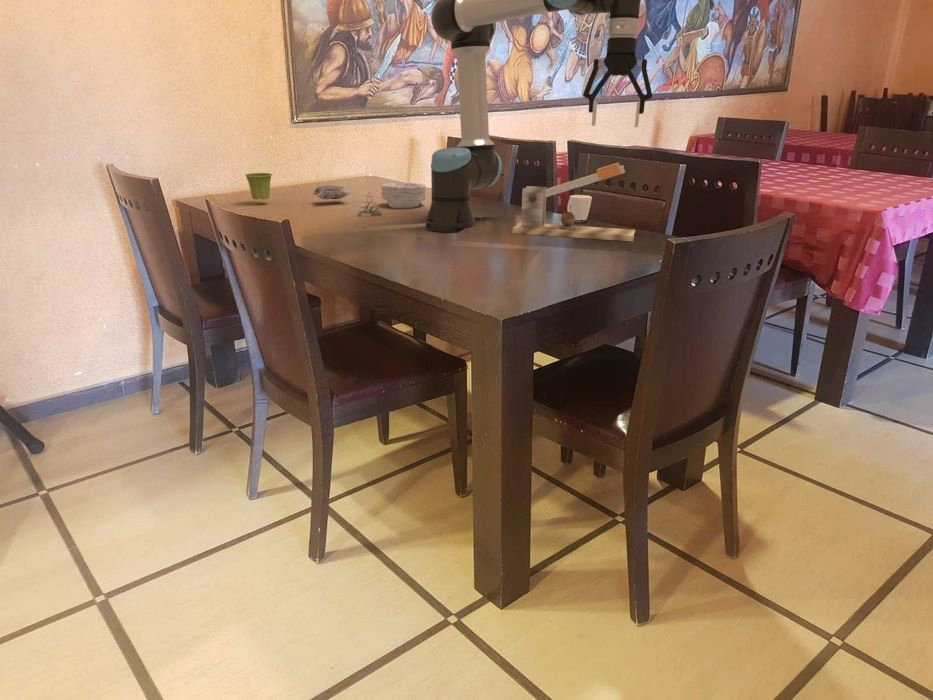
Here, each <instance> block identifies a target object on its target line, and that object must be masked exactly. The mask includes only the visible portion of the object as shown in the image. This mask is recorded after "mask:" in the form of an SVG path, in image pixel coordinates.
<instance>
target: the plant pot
mask: <svg viewBox="0 0 933 700" xmlns="http://www.w3.org/2000/svg"><path fill="white" fill-rule="evenodd" d="M244 176H245V177H246V180H247V181H248V182H247V183H248V186H249V190H250V194H251V198H252V200H268V199H269V198H270V195H271V191H270V189H271V179H272V176H273V174H272V173H269V172H251V173H246V174H244Z"/></svg>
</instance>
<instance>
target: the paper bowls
mask: <svg viewBox="0 0 933 700" xmlns="http://www.w3.org/2000/svg"><path fill="white" fill-rule="evenodd" d="M426 189H427V188H426V184H422V183H413V182H391V183H390V182H389V183H383V184H382V185H381V199H382V200H386V203H387V205H388V207H390V208H391V209H392V208H393V209H412V208H418V207H420V204H421V202H423V201H425V200H426V196H427V195H426V191H427V190H426Z"/></svg>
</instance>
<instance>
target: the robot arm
mask: <svg viewBox="0 0 933 700" xmlns="http://www.w3.org/2000/svg"><path fill="white" fill-rule="evenodd" d="M566 10H568V12H569V13H570V14H571V15H580V16H584V15H592V14H594V15H595V14H603V13H604V14H609V19H608V31H607V32H608V33H607V35H608V36H609V38H608V39H607V43H606V56H605V58H604V59H598V58H595V59H594V60H593V66H592V71H591V73H590V76H589V78H588V80H587V83H586V86H585V88H584V91H583V92H582V93H583V94H582V97H583V98H586V99H588V113H592V115H591V117H592V118H591V127H594V126H596V121H597V110H598V100H595V99H596V97H597V96H598V95H599V93H600V92H601V90H602V89H603V87H604V86H605V84H606V83H607V82H608V80H609V79H610V77H611V76H614V77H615V76H616V77H617V76H622V77H626V76H628V78H629V80H630V82H631V84H632V86H633V88H634V90H635V92H636V94H637V95H638V98H639V100H637V101H636V110H635V111H636V112H635V119H634V121H635V122H634V128H638V127H639V120H640V114H641V115H643V114H644V112H645V104H646V101H647V100H650V99H652V98H653V93H652V88H651V83H650V79H649V75H648V70H647V69H648V67H647V66H648V60H647V59H645V58H643V59H637V57H636V56H637V55H636V53H637V42H638V39H637V38H636V37H637V36H638V34H639V24H640V23H639V22H640V10H641V0H438V1H437V2H435V4H434V6H433V8H432V10H431V16H430V17H431V18H430V20H431V25H432V29H433V30H434V32H435V33H436V34H437V36H439V37H440V38H442V39H443V40H445V41H447V42H450V45H451V46H450V48H451V49H450V50H451V53H453V54H454V55H455V57H456V66H457V80H458V82H457V84H458V85H457V86H458V99H459V100H458V101H459V118H460V119H459V120H460V134H461V135H460V136H461V139H460V142H459V143H458V144H457V145H456V147H445V148H440V149H438V150H435V151H434V152H433V153H432V156H431V164H430V168H431V169H430V170H431V172H430V173H431V177H430V178H431V203H430V206H429V209H428V213H427V216H426V220H425V228H426V229H427V230H429V231H433V232H439V233H440V232H441V233H460V232H461V231H464V230H465V229H468V228H470V229H471V228H473V227H475V226H476V220H475V217H474V212H473V209H472V206H471V201H470V200H471V191H472V190H473V191H474V190H482V189H483V190H484V189H486V188H488V187H491V186H494V185H495V183H497V181H498V180H499V178H500V177H501V174H502V171H503V162H502V159H501V157H500V156H499V155H498V153H497V152H496V151H495V143H494V141H492V140H491V138H490V132H489V131H490V129H489V108H488V86H487V84H488V83H487V64H486V63H487V62H486V61H487V60H486V56H487V53H488V52H489V50H490V49H491V41H492V40H493V36H494V35H495V34H496V31H497V23H500V22H505V21H511V20H516V19H521V18H526V17H532V16H537V15H543V14H547V13H553V12H559V11H560V12H561V11H566ZM603 65H604V66H605V67H606V72H605V73H604V75H603V76H602V78H601V79H600V81H599V83H598V84H597V86H596V87H595V88H594V90H593V91H592V90H591V89H592V87H593V85H594V82H595V80H596V78H597V75H598V73H599V70H600V68H602V66H603ZM636 65H638V67H639V69H641V74H642V77H643V81H644V87H645V92H646V94H645V95H644V93H643V91H642V88H641V87H640V85H639V82H638V81H637V79H636V77H635V75H634V73H633V71H632V70H633V69H634V67H635V66H636ZM591 91H592V93H590V92H591Z"/></svg>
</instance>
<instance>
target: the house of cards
mask: <svg viewBox="0 0 933 700" xmlns="http://www.w3.org/2000/svg"><path fill="white" fill-rule="evenodd" d="M369 194H370V196H369ZM366 197H367V199H366V200H367V201H363V203H362V204H361V206H360V207H359V210H358V211H357V212H358V217H360V218H362V217H376V216H382V215H383V214H382V211H381V210H380V208H379V206H378V205H377V204H376V202H375V201H373V195H372V194H371V192H370V191H369V192H368V193H367V195H366ZM369 198H370V199H371V201H369ZM366 203H367V204H366ZM365 204H366V205H365ZM375 204H376V206H375ZM364 205H365V206H364ZM369 207H370V208H369ZM362 210H363V211H362Z"/></svg>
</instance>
